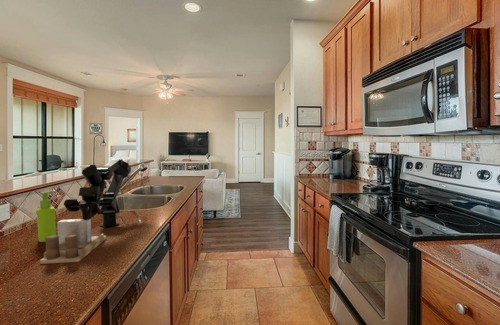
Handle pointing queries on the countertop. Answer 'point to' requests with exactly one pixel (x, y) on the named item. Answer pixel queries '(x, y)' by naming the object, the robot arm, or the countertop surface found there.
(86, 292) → the countertop surface
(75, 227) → the white square slab
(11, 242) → the countertop surface
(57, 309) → the countertop surface
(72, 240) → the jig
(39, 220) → the soap dispenser
